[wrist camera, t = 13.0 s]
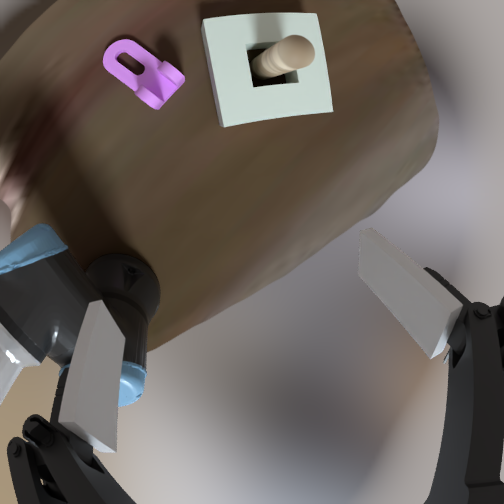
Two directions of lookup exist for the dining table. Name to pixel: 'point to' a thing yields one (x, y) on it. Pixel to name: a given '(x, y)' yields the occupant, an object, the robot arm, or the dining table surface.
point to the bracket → (152, 80)
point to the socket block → (238, 71)
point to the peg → (283, 57)
